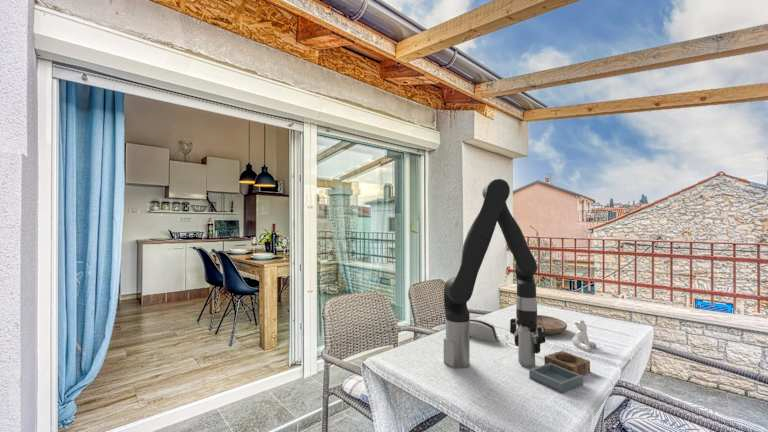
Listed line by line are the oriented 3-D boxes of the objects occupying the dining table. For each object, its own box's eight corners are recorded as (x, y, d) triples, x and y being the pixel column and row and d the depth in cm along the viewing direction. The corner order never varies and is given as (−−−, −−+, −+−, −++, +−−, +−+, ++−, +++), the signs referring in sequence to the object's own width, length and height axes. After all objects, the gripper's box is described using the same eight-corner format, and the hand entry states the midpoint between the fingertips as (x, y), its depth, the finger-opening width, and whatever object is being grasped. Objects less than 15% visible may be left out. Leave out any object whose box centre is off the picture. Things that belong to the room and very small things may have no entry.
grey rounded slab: (499, 339, 157) (496, 321, 155) (495, 345, 154) (492, 327, 152) (467, 331, 169) (464, 314, 166) (463, 337, 165) (459, 319, 163)
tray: (561, 393, 108) (561, 384, 108) (529, 378, 118) (529, 369, 118) (582, 384, 114) (582, 375, 114) (550, 370, 124) (550, 362, 124)
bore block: (572, 378, 118) (572, 367, 118) (543, 366, 128) (543, 355, 128) (591, 371, 124) (591, 361, 124) (561, 360, 134) (561, 350, 134)
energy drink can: (521, 360, 134) (521, 322, 134) (537, 364, 130) (536, 325, 130) (516, 365, 129) (516, 326, 130) (532, 369, 126) (532, 329, 126)
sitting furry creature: (589, 352, 142) (589, 324, 142) (568, 346, 149) (568, 320, 149) (597, 347, 148) (597, 320, 148) (576, 342, 155) (576, 316, 155)
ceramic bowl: (507, 327, 177) (507, 317, 177) (538, 321, 187) (538, 312, 187) (544, 341, 156) (544, 330, 156) (577, 334, 166) (577, 324, 166)
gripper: (505, 305, 135) (505, 345, 134) (536, 313, 122) (537, 357, 122) (517, 302, 138) (518, 341, 138) (549, 310, 126) (550, 353, 126)
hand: (527, 349), depth 130 cm, fingers open, 8 cm apart
